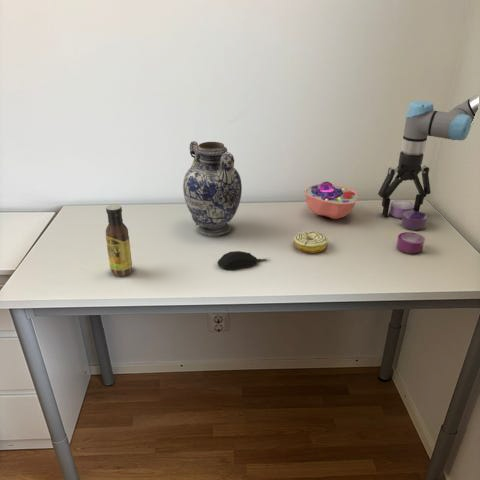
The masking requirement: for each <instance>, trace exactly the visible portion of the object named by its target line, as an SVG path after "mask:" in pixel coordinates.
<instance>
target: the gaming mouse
mask: <svg viewBox="0 0 480 480" xmlns="http://www.w3.org/2000/svg"><path fill="white" fill-rule="evenodd" d="M262 261H267V259H266V258H257V257H256V256H254V255H252V253H250V252H246V251H240V250H236V251H228V252H226V253H224V254H223V255H222V256H221V257H220V258H219V259H218V260H217V265H218V267H220V268H223V269H226V270H237V269H245V268H250V267H254V266H255V265H257V262H262Z"/></svg>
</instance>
